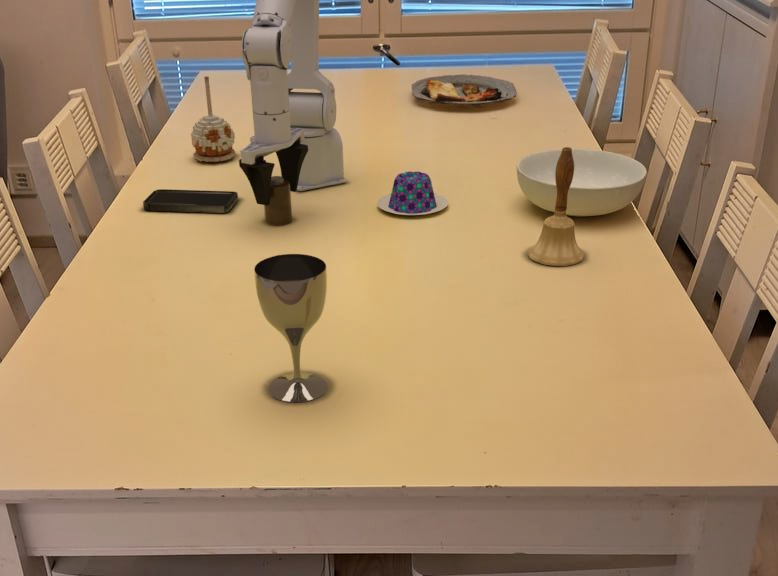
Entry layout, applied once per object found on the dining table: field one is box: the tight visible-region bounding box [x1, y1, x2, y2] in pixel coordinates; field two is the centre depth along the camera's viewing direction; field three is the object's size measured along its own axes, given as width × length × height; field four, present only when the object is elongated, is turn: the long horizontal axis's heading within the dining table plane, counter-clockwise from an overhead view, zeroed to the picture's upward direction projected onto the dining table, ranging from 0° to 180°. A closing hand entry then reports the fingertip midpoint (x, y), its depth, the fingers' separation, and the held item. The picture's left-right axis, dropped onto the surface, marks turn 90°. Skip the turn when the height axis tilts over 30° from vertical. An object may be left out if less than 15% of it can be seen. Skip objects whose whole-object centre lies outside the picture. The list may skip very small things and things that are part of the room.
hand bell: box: [527, 146, 585, 267], centre depth 149 cm, size 8×8×16 cm
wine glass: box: [253, 253, 329, 403], centre depth 117 cm, size 8×8×15 cm
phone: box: [142, 188, 239, 214], centre depth 175 cm, size 8×1×15 cm
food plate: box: [411, 73, 518, 107], centre depth 230 cm, size 25×23×4 cm
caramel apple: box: [190, 75, 236, 163], centre depth 193 cm, size 8×8×15 cm
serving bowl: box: [516, 148, 648, 218], centre depth 168 cm, size 21×21×7 cm
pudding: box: [376, 171, 449, 216], centre depth 171 cm, size 12×12×5 cm
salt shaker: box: [263, 175, 293, 226], centre depth 166 cm, size 4×4×7 cm
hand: (277, 197), depth 166 cm, fingers open, 7 cm apart
